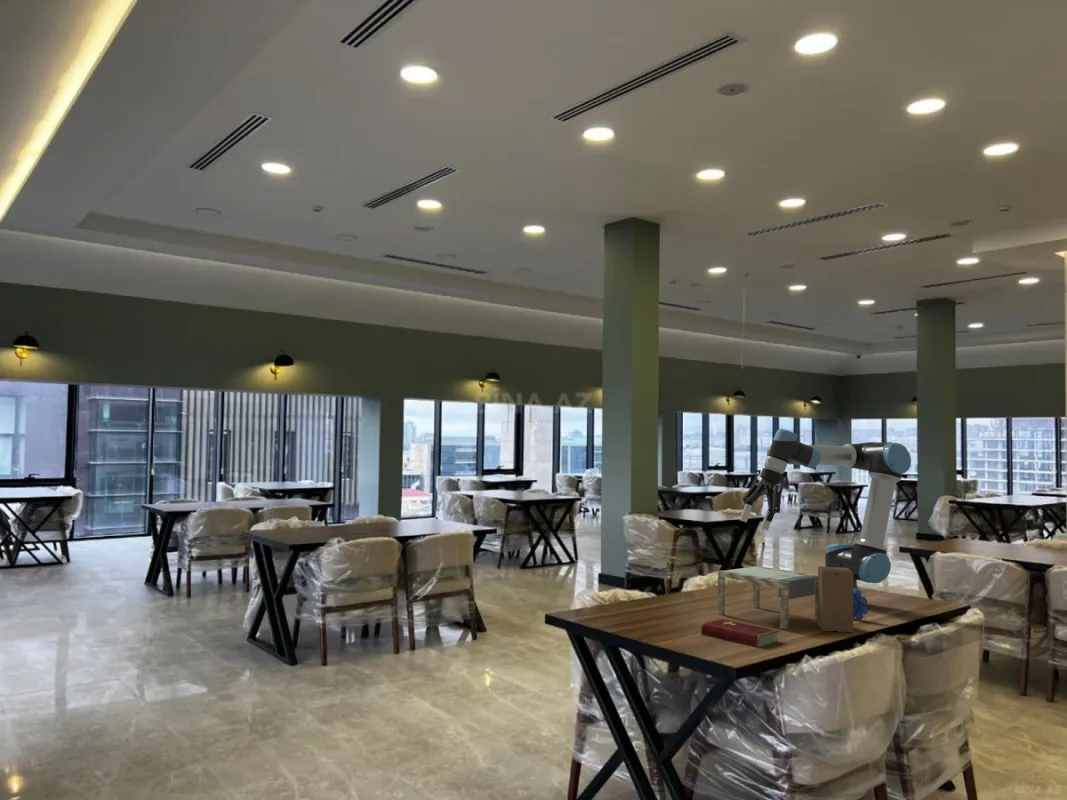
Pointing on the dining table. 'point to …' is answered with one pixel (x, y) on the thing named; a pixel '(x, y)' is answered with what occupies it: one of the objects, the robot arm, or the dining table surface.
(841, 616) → the wooden block
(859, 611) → the grapes
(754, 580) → the hinged flap stand
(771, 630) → the hardcover book
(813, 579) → the trapdoor
